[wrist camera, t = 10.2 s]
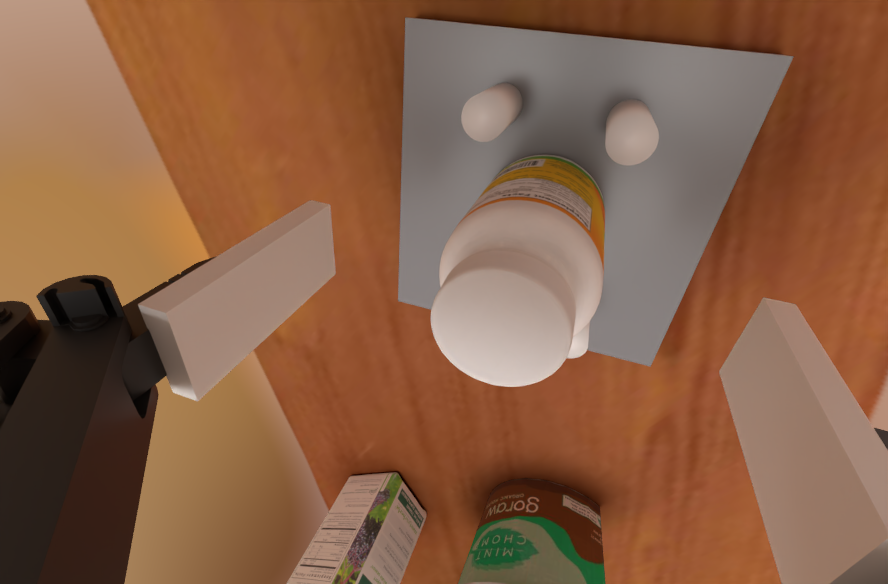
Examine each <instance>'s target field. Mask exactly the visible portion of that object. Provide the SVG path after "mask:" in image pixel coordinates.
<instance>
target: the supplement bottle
mask: <svg viewBox="0 0 888 584" xmlns="http://www.w3.org/2000/svg"><path fill="white" fill-rule="evenodd" d="M604 239H605V208H604V201H603V197H602V194H601V191H600V189H599V187H598V185H597V183H596V182H595V180H594V179H593V178H592V176H591V175H590V174H589V173H588V172H587V171H586V170H585V169H583V168H582V167H581V166H579V165H578V164H576V163H575V162H573V161H571V160H569V159H566V158H563V157H560V156H555V155H534V156H529V157H525V158H522V159H519V160H517V161H515V162H513V163H511V164H510V165H508V166H507V167H506V168H504V169H503V170H502V171H501V172H500V173H499V174H498V175H497V176H496V177H495V178H494V179H493V180H492V182H491V183H490V184H489V185H488V187H487V188H486V189H485V190H484V192H483V193H482V194H481V196H480V197H479V198H478V200H477V201H476V202H475V204H474V205H473V206H472V207H471V209H470V210H469V211H468V213H467V214H466V215H465V216H464V218H463V219H462V220H461V221H460V223H459V224H458V225H457V227H456V228H455V230H454V231H453V233H452V235H451V236H450V238H449V239H448V241H447V243H446V245H445V248H444V250H443V253H442V256H441V261H440V268H439V278H440V287H441V288H440V290H439V291H438V293H437V295H436V297H435V299H434V302H433V306H432V310H431V327H432V331H433V335H434V338H435V340H436V342H437V344H438V346H439V348H440V349H441V351H442V352H443V354H444V355H445V356H446V357H447V358H448V359H449V361H450V362H451V363H452V364H454V365H455V366H456V367H457V368H458V369H460V370H461V371H463V372H464V373H466V374H467V375H469V376H471V377H473V378H475V379H477V380H480V381H482V382H485V383H488V384H492V385H497V386H506V387H517V386H525V385H530V384H533V383H537V382H539V381H541V380H543V379H545V378H547V377H549V376H550V375H552V374H553V373H554V372H555V371H556V370H557V369H558V368H560V367H561V365H562V364H563V362H564V361H565V359H566V358H567V356H568V354H569V351H570V348H571V344H572V339H573V337H574V336H575V335H577V334H578V333H579V332H580V331H581V330H582V329H583V328H584V327H585V326H586V325H587V324H588V323H589V322H590V320H591V318H592V317H593V315H594V314H595V312H596V309H597V307H598V305H599V302H600V299H601V294H602V287H603V276H604Z"/></svg>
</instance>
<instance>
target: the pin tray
mask: <svg viewBox="0 0 888 584" xmlns="http://www.w3.org/2000/svg"><path fill="white" fill-rule="evenodd" d="M793 57H794V56H788V55H781V54H771V53H761V52H751V51H741V50H731V49H721V48H711V47H701V46H691V45H681V44H671V43H661V42H651V41H641V40H631V39H621V38H611V37H601V36H591V35H581V34H571V33H561V32H551V31H541V30H531V29H521V28H511V27H501V26H491V25H481V24H471V23H461V22H451V21H441V20H431V19H421V18H406V17H405V52H404V91H403V130H402V170H401V209H400V248H399V287H398V301H400V302H404V303H408V304H412V305H416V306H420V307H423V308H427V309H431V310H432V306H433V302H434V299H435V297H436V295H437V293H438V291H439V290H440V288H441V287H440V278H439V268H440V261H441V256H442V253H443V250H444V248H445V245H446V243H447V241H448V239H449V238H450V236H451V235H452V233H453V231H454V230H455V228H456V227H457V225H458V224H459V223H460V221H461V220H462V219H463V218H464V216H465V215H466V214H467V213H468V211H469V210H470V209H471V207H472V206H473V205H474V204H475V202H476V201H477V200H478V198H479V197H480V196H481V194H482V193H483V192H484V190H485V189H486V188H487V187H488V185H489V184H490V183H491V182H492V180H493V179H494V178H495V177H496V176H497V175H498V174H499V173H500V172H501V171H502V170H503V169H504V168H506V167H507V166H508V165H510V164H511V163H513V162H515V161H517V160H519V159H522V158H525V157H529V156H534V155H555V156H560V157H563V158H566V159H569V160H571V161H573V162H575V163H576V164H578V165H579V166H581V167H582V168H583V169H585V170H586V171H587V172H588V173H589V174H590V175H591V176H592V178H593V179H594V180H595V182H596V183H597V185H598V187H599V189H600V191H601V194H602V197H603V201H604V208H605V239H604V276H603V287H602V294H601V299H600V302H599V305H598V307H597V309H596V312H595V314H594V315H593V317H592V318H591V320H590V322H589V323H588V324H587V325H586V326H585V327H584V328H583V329H582V330H581V331H580V332H579V333H578V334H577V335H575V336H574V337H573V339H572V344H571V348H570V351H569V354H568V356H567V358H577V357H580V356H582V355H583V354H584V353H585V352H586V351H587V350H589V351H593V352H597V353H600V354H604V355H608V356H612V357H616V358H620V359H623V360H627V361H631V362H635V363H639V364H643V365H647V366H651V364H652V362H653V360H654V358H655V356H656V353H657V351H658V349H659V347H660V345H661V343H662V340H663V338H664V336H665V334H666V332H667V330H668V327H669V325H670V323H671V321H672V319H673V317H674V314H675V312H676V310H677V308H678V306H679V304H680V301H681V299H682V297H683V295H684V293H685V291H686V289H687V286H688V284H689V282H690V280H691V278H692V276H693V273H694V271H695V269H696V267H697V265H698V263H699V260H700V258H701V256H702V254H703V252H704V250H705V247H706V245H707V243H708V241H709V239H710V237H711V234H712V232H713V230H714V228H715V226H716V224H717V221H718V219H719V217H720V215H721V213H722V211H723V208H724V206H725V204H726V202H727V200H728V198H729V195H730V193H731V191H732V189H733V187H734V185H735V182H736V180H737V178H738V176H739V174H740V172H741V169H742V167H743V165H744V163H745V161H746V159H747V156H748V154H749V152H750V150H751V148H752V146H753V143H754V141H755V139H756V137H757V135H758V133H759V130H760V128H761V126H762V124H763V122H764V120H765V117H766V115H767V113H768V111H769V109H770V107H771V104H772V102H773V100H774V98H775V96H776V94H777V91H778V89H779V87H780V85H781V83H782V81H783V78H784V76H785V74H786V72H787V70H788V68H789V65H790V63H791V61H792V59H793Z"/></svg>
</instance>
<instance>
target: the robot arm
mask: <svg viewBox="0 0 888 584" xmlns="http://www.w3.org/2000/svg"><path fill="white" fill-rule="evenodd" d="M335 274H336V272H335V259H334V247H333V234H332V221H331V209H330V204H326V203H321V202H317V201H312V200H310V201H308V202H306V203H305V204H303V205H301V206H300V207H298V208H296V209H295V210H293V211H291V212H290V213H288V214H286V215H285V216H283V217H281V218H280V219H278V220H276V221H275V222H273V223H272V224H270V225H268V226H267V227H265V228H263V229H262V230H260V231H258V232H257V233H255V234H253V235H252V236H250V237H248V238H247V239H245V240H243V241H242V242H240V243H238V244H237V245H235V246H233V247H232V248H230V249H228V250H227V251H225V252H224V253H222V254H220V255H219V256H217V257H213V258H210V259H208V260H204V261H201V262H198V263H196V264H194V265H193V266H191V267H189V268H187V269H186V270H184V271H182V272H181V274H177V275H176V276H174V277H172V278H171V279H169V281H168V282H164V283H162V284H160V285H159V286H157V287H155V288H154V289H152V290H150V291H149V292H147V293H145V294H143V295H142V296H140V297H138V298H137V299H135V300H133V301H132V302H130V303H128V304H127V305H125V306H123V307H122V305H121V303H120V301H119V298H118V296H117V294H116V291H115V289H114V287H113V284H112V282H111V281H110V280H109V279H108V278H106V277H103V276H97V275H83V276H78V277H72V278H68V279H65V280H62V281H59V282H56V283H54V284H52V285H50V286H49V287H47V288H45V289H43V290H42V291H41V292H40V293H39V294H38V295H37V298H38V300H39V302H40V304H41V305H42V307H43V309H44V311H45V312H46V314H47V316H48V318H49V320H37V319H36V317H35V315H34V314H33V312H32V310H31V308H30V307H29V305H27V304H25V303H23V302H17V301H7V302H0V584H124V582H125V576H126V570H127V565H128V560H129V554H130V549H131V543H132V538H133V532H134V526H135V521H136V515H137V510H138V505H139V499H140V494H141V488H142V483H143V477H144V471H145V466H146V461H147V455H148V449H149V444H150V439H151V433H152V428H153V422H154V417H155V411H156V405H157V400H158V390H157V387H156V385H155V384H156V383H158V382H159V381H160V380H161V379H162V378H164V377H165V376H167V379H168V381H169V383H170V386H171V389H172V391H173V393H176V394H179V395H182V396H184V397H187V398H190V399H193V400H195V401H199V400H200V399H201V398H202V397H203V396H204V395H205V394H206V393H207V392H208V391H210V389H212V388H213V387H214V386H215V385H216V384H217V383H218V382H219V381H220V380H221V379H222V378H224V377H225V376H226V375H227V374H228V373H229V372H230V371H231V370H232V369H233V368H234V367H235V366H237V365H238V364H239V363H240V362H241V361H242V360H243V359H244V358H245V357H246V356H247V355H248V354H250V353H251V352H252V351H253V350H254V349H255V348H256V347H257V346H258V345H259V344H260V343H261V342H263V341H264V340H265V339H266V338H267V337H268V336H269V335H270V334H271V333H272V332H273V331H274V330H276V329H277V328H278V327H279V326H280V325H281V324H282V323H283V322H284V321H285V320H286V319H287V318H288V317H290V316H291V315H292V314H293V313H294V312H295V311H296V310H297V309H298V308H299V307H300V306H301V305H303V304H304V303H305V302H306V301H307V300H308V299H309V298H310V297H311V296H312V295H313V294H314V293H316V292H317V291H318V290H319V289H320V288H321V287H322V286H323V285H324V284H325V283H326V282H327V281H329V280H330V279H331V278H332V277H333V276H334V275H335ZM719 373H720V376H721V380H722V383H723V386H724V390H725V393H726V397H727V400H728V403H729V407H730V410H731V414H732V417H733V420H734V424H735V427H736V430H737V434H738V437H739V441H740V444H741V447H742V451H743V454H744V457H745V461H746V464H747V468H748V471H749V474H750V478H751V481H752V485H753V488H754V491H755V495H756V498H757V501H758V505H759V508H760V512H761V515H762V518H763V522H764V525H765V529H766V532H767V535H768V539H769V542H770V545H771V549H772V552H773V556H774V559H775V562H776V566H777V569H778V573H779V576H780V579H781V583H782V584H888V431H884V430H881V429H877V428H873V426H872V425H871V423H870V421H869V420H868V418H867V417H866V415H865V413H864V412H863V410H862V409H861V407H860V406H859V404H858V402H857V401H856V399H855V398H854V396H853V394H852V393H851V391H850V390H849V388H848V386H847V385H846V383H845V382H844V380H843V379H842V377H841V375H840V374H839V372H838V371H837V369H836V367H835V366H834V364H833V363H832V361H831V360H830V358H829V356H828V355H827V353H826V352H825V350H824V348H823V347H822V345H821V344H820V342H819V341H818V339H817V337H816V336H815V334H814V333H813V331H812V329H811V328H810V326H809V325H808V323H807V321H806V320H805V318H804V317H803V315H802V314H801V312H800V310H799V309H798V307H797V306H796V304H792V303H787V302H783V301H778V300H773V299H769V298H764V297H763V299H762V301H761V302H760V304H759V306H758V307H757V309H756V311H755V312H754V314H753V316H752V317H751V319H750V321H749V322H748V324H747V326H746V327H745V329H744V331H743V332H742V334H741V336H740V337H739V339H738V341H737V342H736V344H735V346H734V347H733V349H732V351H731V352H730V354H729V356H728V357H727V359H726V361H725V363H724V364H723V366H722V368H721V369H720V371H719Z"/></svg>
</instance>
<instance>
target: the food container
mask: <svg viewBox="0 0 888 584" xmlns="http://www.w3.org/2000/svg"><path fill="white" fill-rule="evenodd" d="M458 584H605V572H604V559H603V545H602V532H601V518H600V507H599V506H598V505H597V504H595V503H594V502H593V501H592V500H590V499H589V498H588V497H586V496H584V495H582V494H580V493H578V492H576V491H575V490H573V489H571V488H569V487H566V486H563V485H560V484H557V483H553V482H550V481H547V480H538V479H528V478H523V479H515V480H510V481H506V482H504V483H502V484H500V485H498V486H497V487H495V488H494V489H493V491H492V492H491V493H490V496H489V498H488V501H487V504H486V507H485V510H484V512H483V515H482V518H481V521H480V524H479V526H478V529H477V532H476V535H475V538H474V540H473V543H472V546H471V549H470V552H469V554H468V557H467V560H466V563H465V566H464V569H463V571H462V574H461V577H460V580H459V583H458Z"/></svg>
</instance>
